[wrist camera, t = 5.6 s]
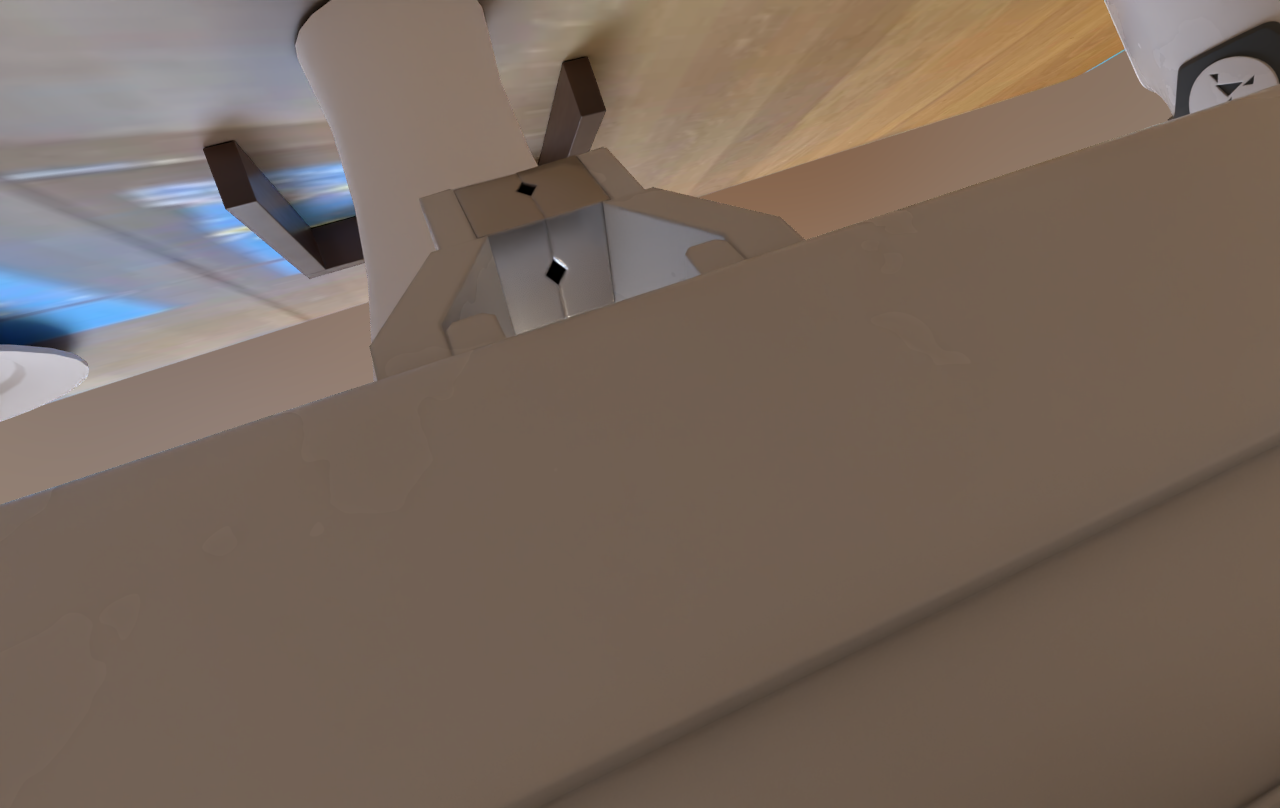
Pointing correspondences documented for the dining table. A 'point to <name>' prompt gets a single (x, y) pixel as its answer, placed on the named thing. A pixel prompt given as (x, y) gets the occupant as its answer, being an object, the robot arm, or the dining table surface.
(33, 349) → the plated food
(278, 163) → the dining table surface
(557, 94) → the dark brown flat frame
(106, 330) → the dining table surface
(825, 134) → the dining table surface
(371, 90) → the cup
